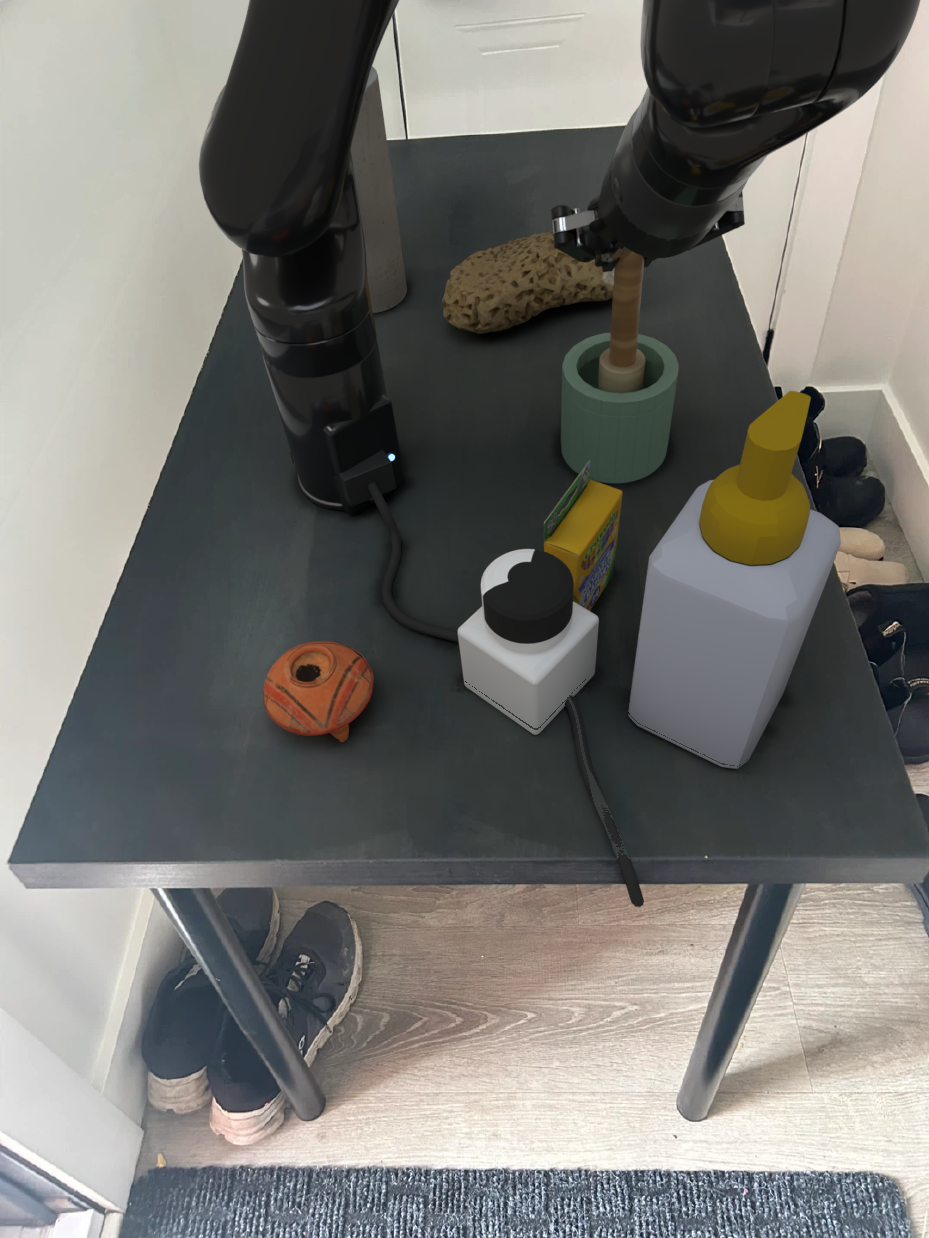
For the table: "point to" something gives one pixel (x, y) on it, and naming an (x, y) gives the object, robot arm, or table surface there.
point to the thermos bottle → (377, 202)
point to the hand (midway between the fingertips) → (623, 256)
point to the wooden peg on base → (624, 330)
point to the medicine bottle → (528, 638)
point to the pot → (318, 689)
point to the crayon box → (586, 535)
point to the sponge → (519, 284)
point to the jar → (616, 413)
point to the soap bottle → (733, 597)
